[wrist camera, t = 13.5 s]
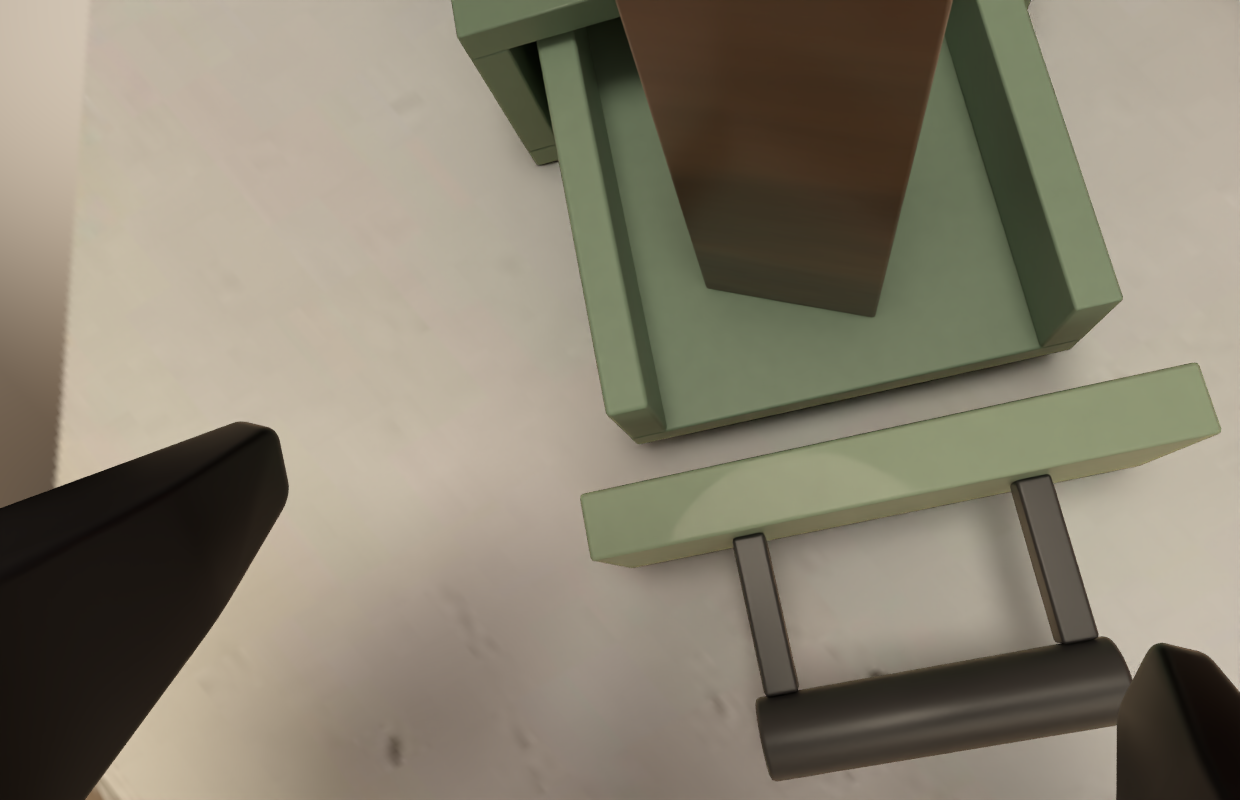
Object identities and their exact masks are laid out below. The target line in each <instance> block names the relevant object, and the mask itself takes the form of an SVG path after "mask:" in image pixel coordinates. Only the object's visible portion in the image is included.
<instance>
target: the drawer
mask: <svg viewBox="0 0 1240 800" xmlns="http://www.w3.org/2000/svg"><path fill="white" fill-rule="evenodd" d="M536 42H537V48H538V53H539V58H540V64H541V69H542V74H543V80H544V85H545V90H546V96H547V101H548V106H549V112H550V117H551V122H552V128H553V133H554V138H555V144H556V149H557V154H558V160H559V165H560V170H561V176H562V181H563V186H564V192H565V197H566V202H567V208H568V213H569V218H570V224H571V229H572V234H573V240H574V245H575V250H576V256H577V261H578V266H579V272H580V277H581V282H582V288H583V293H584V299H585V304H586V309H587V315H588V320H589V325H590V331H591V336H592V341H593V347H594V352H595V357H596V363H597V368H598V373H599V379H600V384H601V389H602V395H603V400H604V405H605V411H606V414H607V415H608V417H610V418H611V419H612V420H613V421H614V422H615V423H616V424H617V425H618V426H619V427H620V428H621V429H622V430H623V431H625V432H626V433H627V434H628V435H629V436H630V437H631V439H632V440H633V441H635V442H636V443H637V444H644V443H648V442H653V441H657V440H662V439H666V438H671V437H676V436H680V435H685V434H689V433H694V432H698V431H703V430H707V429H712V428H716V427H721V426H725V425H730V424H734V423H739V422H743V421H748V420H753V419H757V418H762V417H766V416H771V415H775V414H780V413H784V412H789V411H793V410H798V409H802V408H807V407H811V406H816V405H820V404H825V403H829V402H834V401H839V400H843V399H848V398H852V397H857V396H861V395H866V394H870V393H875V392H879V391H884V390H888V389H893V388H897V387H902V386H906V385H911V384H916V383H920V382H925V381H929V380H934V379H938V378H943V377H947V376H952V375H956V374H961V373H965V372H970V371H974V370H979V369H983V368H988V367H993V366H997V365H1002V364H1006V363H1011V362H1015V361H1020V360H1024V359H1029V358H1033V357H1038V356H1042V355H1047V354H1051V353H1056V352H1060V351H1065V350H1069V349H1071V348H1072V347H1073V346H1074V345H1075V344H1076V343H1077V342H1078V341H1079V340H1080V339H1081V338H1083V337H1084V336H1085V335H1086V334H1087V333H1088V332H1089V331H1090V330H1091V329H1092V328H1093V327H1094V326H1095V325H1096V324H1097V323H1098V322H1100V321H1101V320H1102V319H1103V318H1104V317H1105V316H1106V315H1107V314H1108V313H1109V312H1110V311H1111V310H1112V309H1113V308H1114V307H1115V306H1116V305H1117V304H1119V303H1120V302H1121V301H1122V300H1123V296H1122V293H1121V290H1120V287H1119V284H1118V281H1117V278H1116V275H1115V272H1114V269H1113V266H1112V263H1111V260H1110V257H1109V254H1108V251H1107V248H1106V245H1105V242H1104V239H1103V236H1102V233H1101V230H1100V227H1099V224H1098V221H1097V218H1096V215H1095V212H1094V209H1093V206H1092V203H1091V200H1090V197H1089V194H1088V191H1087V188H1086V185H1085V182H1084V179H1083V176H1082V173H1081V170H1080V167H1079V164H1078V161H1077V158H1076V155H1075V152H1074V149H1073V146H1072V143H1071V140H1070V137H1069V134H1068V131H1067V128H1066V125H1065V122H1064V119H1063V116H1062V113H1061V110H1060V107H1059V104H1058V101H1057V98H1056V95H1055V92H1054V89H1053V86H1052V83H1051V80H1050V77H1049V74H1048V71H1047V68H1046V65H1045V62H1044V59H1043V56H1042V53H1041V50H1040V47H1039V44H1038V41H1037V38H1036V35H1035V32H1034V29H1033V26H1032V23H1031V20H1030V17H1029V14H1028V11H1027V8H1026V5H1025V2H1024V0H953V2H952V6H951V10H950V14H949V18H948V22H947V26H946V30H945V35H944V39H943V43H942V47H941V51H940V55H939V59H938V63H937V67H936V71H935V75H934V79H933V83H932V87H931V91H930V96H929V100H928V104H927V108H926V112H925V116H924V120H923V124H922V128H921V132H920V136H919V140H918V144H917V148H916V152H915V156H914V161H913V165H912V169H911V173H910V177H909V181H908V185H907V189H906V193H905V197H904V201H903V205H902V209H901V213H900V217H899V222H898V226H897V230H896V234H895V238H894V242H893V246H892V250H891V254H890V258H889V262H888V266H887V270H886V274H885V278H884V282H883V287H882V291H881V295H880V299H879V303H878V307H877V311H876V315H875V316H874V317H867V316H862V315H856V314H850V313H845V312H839V311H833V310H828V309H822V308H816V307H811V306H805V305H799V304H794V303H788V302H782V301H777V300H771V299H766V298H760V297H754V296H749V295H743V294H737V293H732V292H726V291H720V290H715V289H709V288H707V287H706V285H705V282H704V279H703V276H702V273H701V270H700V266H699V263H698V260H697V257H696V254H695V251H694V247H693V244H692V241H691V238H690V235H689V232H688V229H687V225H686V222H685V219H684V216H683V213H682V210H681V206H680V203H679V200H678V197H677V194H676V191H675V188H674V184H673V181H672V178H671V175H670V172H669V169H668V165H667V162H666V159H665V156H664V153H663V150H662V146H661V143H660V140H659V137H658V134H657V131H656V128H655V124H654V121H653V118H652V115H651V112H650V109H649V105H648V102H647V99H646V96H645V93H644V90H643V87H642V83H641V80H640V77H639V74H638V71H637V68H636V64H635V61H634V58H633V55H632V52H631V49H630V45H629V42H628V39H627V36H626V33H625V30H624V27H623V23H622V20H621V17H618V18H614V19H611V20H607V21H604V22H600V23H597V24H593V25H590V26H586V27H583V28H579V29H576V30H573V31H569V32H566V33H562V34H559V35H555V36H552V37H548V38H545V39H541V40H538V41H536ZM1220 432H1221V427H1220V424H1219V421H1218V418H1217V415H1216V413H1215V410H1214V407H1213V404H1212V401H1211V398H1210V395H1209V392H1208V390H1207V387H1206V384H1205V381H1204V378H1203V375H1202V372H1201V369H1200V367H1199V365H1198V363H1189V364H1184V365H1180V366H1175V367H1171V368H1166V369H1161V370H1157V371H1152V372H1147V373H1143V374H1138V375H1133V376H1129V377H1124V378H1119V379H1115V380H1110V381H1105V382H1101V383H1096V384H1091V385H1087V386H1082V387H1078V388H1073V389H1068V390H1064V391H1059V392H1054V393H1050V394H1045V395H1040V396H1036V397H1031V398H1026V399H1022V400H1017V401H1012V402H1008V403H1003V404H998V405H994V406H989V407H985V408H980V409H975V410H971V411H966V412H961V413H957V414H952V415H947V416H943V417H938V418H933V419H929V420H924V421H919V422H915V423H910V424H905V425H901V426H896V427H892V428H887V429H882V430H878V431H873V432H868V433H864V434H859V435H854V436H850V437H845V438H840V439H836V440H831V441H826V442H822V443H817V444H812V445H808V446H803V447H798V448H794V449H789V450H785V451H780V452H775V453H771V454H766V455H761V456H757V457H752V458H747V459H743V460H738V461H733V462H729V463H724V464H719V465H715V466H710V467H705V468H701V469H696V470H692V471H687V472H682V473H678V474H673V475H668V476H664V477H659V478H654V479H650V480H645V481H640V482H636V483H631V484H626V485H622V486H617V487H612V488H608V489H603V490H599V491H594V492H589V493H585V494H582V495H581V498H580V500H581V506H582V512H583V517H584V523H585V529H586V534H587V540H588V546H589V551H590V557H591V559H592V561H597V562H603V563H608V564H613V565H619V566H624V567H629V568H635V567H640V566H645V565H650V564H655V563H660V562H665V561H670V560H675V559H680V558H685V557H690V556H695V555H700V554H705V553H710V552H715V551H719V550H724V549H729V548H734V553H735V558H736V562H737V567H738V572H739V576H740V581H741V586H742V591H743V595H744V600H745V605H746V609H747V614H748V619H749V623H750V628H751V633H752V637H753V642H754V647H755V651H756V656H757V661H758V666H759V670H760V675H761V680H762V684H763V689H764V693H765V695H766V696H764V697H760V698H758V699H757V700H756V715H757V722H758V728H759V733H760V738H761V743H762V748H763V752H764V757H765V761H766V765H767V768H768V772H769V775H770V777H771V778H772V780H774V781H782V780H788V779H794V778H800V777H807V776H813V775H819V774H825V773H831V772H837V771H843V770H849V769H855V768H861V767H867V766H873V765H879V764H885V763H891V762H897V761H904V760H910V759H916V758H922V757H928V756H934V755H940V754H946V753H952V752H958V751H964V750H970V749H976V748H982V747H988V746H994V745H1001V744H1007V743H1013V742H1019V741H1025V740H1031V739H1037V738H1043V737H1049V736H1055V735H1061V734H1067V733H1073V732H1079V731H1085V730H1091V729H1098V728H1104V727H1110V726H1116V725H1117V720H1118V713H1119V708H1120V705H1121V702H1122V699H1123V697H1124V695H1125V693H1126V692H1127V690H1128V688H1129V686H1130V684H1131V682H1132V677H1131V674H1130V671H1129V669H1128V666H1127V664H1126V662H1125V660H1124V658H1123V656H1122V654H1121V652H1120V651H1119V649H1118V648H1117V646H1116V645H1115V643H1114V642H1113V641H1112V640H1111V639H1109V638H1107V637H1103V636H1101V637H1098V631H1097V628H1096V624H1095V621H1094V618H1093V614H1092V611H1091V608H1090V604H1089V601H1088V598H1087V594H1086V591H1085V588H1084V584H1083V581H1082V577H1081V574H1080V571H1079V567H1078V564H1077V561H1076V557H1075V554H1074V551H1073V547H1072V544H1071V541H1070V537H1069V534H1068V531H1067V527H1066V524H1065V521H1064V517H1063V514H1062V511H1061V507H1060V504H1059V501H1058V497H1057V494H1056V491H1055V487H1054V484H1053V483H1056V482H1061V481H1066V480H1071V479H1076V478H1081V477H1086V476H1091V475H1096V474H1101V473H1106V472H1111V471H1116V470H1121V469H1126V468H1131V467H1136V466H1140V465H1143V464H1145V463H1147V462H1150V461H1152V460H1155V459H1157V458H1160V457H1162V456H1165V455H1167V454H1170V453H1172V452H1175V451H1177V450H1180V449H1182V448H1185V447H1187V446H1190V445H1192V444H1195V443H1197V442H1200V441H1202V440H1205V439H1207V438H1210V437H1212V436H1214V435H1217V434H1219V433H1220ZM1007 492H1012V496H1013V499H1014V503H1015V506H1016V510H1017V513H1018V517H1019V520H1020V524H1021V527H1022V531H1023V534H1024V538H1025V541H1026V544H1027V548H1028V551H1029V555H1030V558H1031V562H1032V565H1033V569H1034V572H1035V576H1036V579H1037V583H1038V586H1039V590H1040V593H1041V597H1042V600H1043V604H1044V607H1045V610H1046V614H1047V617H1048V621H1049V624H1050V628H1051V631H1052V635H1053V638H1054V640H1055V642H1057V643H1061V644H1056V645H1050V646H1045V647H1039V648H1033V649H1028V650H1022V651H1017V652H1011V653H1005V654H1000V655H994V656H988V657H983V658H977V659H972V660H966V661H960V662H955V663H949V664H944V665H938V666H932V667H927V668H921V669H916V670H910V671H904V672H899V673H893V674H887V675H882V676H876V677H871V678H865V679H859V680H854V681H848V682H843V683H837V684H831V685H826V686H820V687H815V688H809V689H803V690H798V687H799V684H798V679H797V675H796V670H795V666H794V661H793V657H792V652H791V648H790V643H789V639H788V634H787V630H786V625H785V621H784V616H783V612H782V607H781V603H780V598H779V594H778V589H777V585H776V580H775V576H774V571H773V567H772V562H771V558H770V553H769V549H768V544H767V541H769V540H774V539H779V538H784V537H789V536H794V535H799V534H804V533H809V532H814V531H819V530H824V529H828V528H833V527H838V526H843V525H848V524H853V523H858V522H863V521H868V520H873V519H878V518H883V517H888V516H893V515H898V514H903V513H908V512H913V511H918V510H923V509H928V508H933V507H937V506H942V505H947V504H952V503H957V502H962V501H967V500H972V499H977V498H982V497H987V496H992V495H997V494H1002V493H1007Z"/></svg>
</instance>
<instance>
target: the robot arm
mask: <svg viewBox="0 0 1240 800" xmlns="http://www.w3.org/2000/svg"><path fill="white" fill-rule="evenodd" d="M288 490H289V485H288V479H287V474H286V469H285V464H284V459H283V454H282V450H281V445H280V440H279V437H278V435H277V434H276V432H275V431H274V430H272V429H271V428H269V427H265V426H261V425H257V424H253V423H249V422H235V423H232V424H229V425H226V426H224V427H221V428H218V429H215V430H213V431H210V432H207V433H204V434H202V435H199V436H196V437H194V438H191V439H188V440H185V441H183V442H180V443H177V444H174V445H172V446H169V447H166V448H164V449H161V450H158V451H155V452H153V453H150V454H147V455H144V456H142V457H139V458H136V459H134V460H131V461H128V462H125V463H123V464H120V465H117V466H114V467H112V468H109V469H106V470H104V471H101V472H98V473H95V474H93V475H90V476H87V477H84V478H82V479H79V480H76V481H73V482H71V483H68V484H65V485H63V486H60V487H57V488H54V489H52V490H49V491H47V492H44V493H41V494H38V495H35V496H33V497H30V498H27V499H24V500H22V501H19V502H16V503H14V504H11V505H8V506H5V507H3V508H0V800H85V799H86V798H87V796H88V795H89V794H90V792H91V791H92V790H93V788H94V787H95V785H96V784H97V783H98V781H99V780H100V779H101V777H102V776H103V775H104V773H105V772H106V771H107V769H108V768H109V766H110V765H111V764H112V762H113V761H114V760H115V758H116V757H117V756H118V754H119V753H120V752H121V750H122V749H123V747H124V746H125V745H126V743H127V742H128V741H129V739H130V738H131V737H132V735H133V734H134V732H135V731H136V730H137V728H138V727H139V726H140V724H141V723H142V722H143V720H144V719H145V718H146V716H147V715H148V713H149V712H150V711H151V709H152V708H153V707H154V705H155V704H156V703H157V701H158V700H159V699H160V697H161V696H162V694H163V693H164V692H165V690H166V689H167V688H168V686H169V685H170V684H171V682H172V681H173V679H174V678H175V677H176V675H177V674H178V673H179V671H180V670H181V669H182V667H183V666H184V665H185V663H186V662H187V660H188V659H189V658H190V656H191V655H192V654H193V652H194V651H195V650H196V648H197V647H198V646H199V644H200V643H201V641H202V640H203V639H204V637H205V636H206V635H207V633H208V632H209V630H210V629H211V627H212V626H213V625H214V623H215V622H216V620H217V619H218V617H219V616H220V614H221V613H222V611H223V609H224V608H225V606H226V605H227V603H228V602H229V600H230V598H231V597H232V595H233V593H234V592H235V590H236V588H237V586H238V585H239V583H240V581H241V580H242V578H243V576H244V575H245V573H246V571H247V569H248V568H249V566H250V564H251V563H252V561H253V559H254V558H255V556H256V554H257V552H258V551H259V549H260V547H261V546H262V544H263V542H264V541H265V539H266V537H267V535H268V534H269V532H270V530H271V529H272V527H273V525H274V524H275V522H276V520H277V518H278V517H279V515H280V513H281V512H282V510H283V508H284V506H285V504H286V501H287V497H288ZM1116 800H1240V692H1239V691H1238V689H1237V688H1236V687H1235V686H1234V685H1233V684H1232V682H1231V681H1230V680H1229V679H1228V678H1227V676H1226V675H1225V674H1224V673H1223V672H1222V670H1221V669H1220V668H1219V667H1218V666H1217V665H1216V663H1215V662H1214V661H1213V660H1212V659H1211V658H1210V657H1209V656H1207V655H1206V654H1204V653H1201V652H1199V651H1195V650H1191V649H1187V648H1183V647H1178V646H1174V645H1170V644H1166V643H1158V644H1155V645H1153V646H1152V647H1151V648H1150V649H1149V650H1148V652H1147V654H1146V655H1145V657H1144V659H1143V661H1142V663H1141V665H1140V667H1139V669H1138V671H1137V673H1136V674H1135V676H1134V678H1133V680H1132V682H1131V684H1130V686H1129V688H1128V690H1127V692H1126V693H1125V695H1124V697H1123V699H1122V702H1121V705H1120V708H1119V713H1118V720H1117V791H1116Z"/></svg>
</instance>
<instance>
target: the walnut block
mask: <svg viewBox="0 0 1240 800" xmlns="http://www.w3.org/2000/svg"><path fill="white" fill-rule="evenodd" d="M615 1H616V4H617V8H618V11H619V14H620V17H621V20H622V23H623V27H624V30H625V33H626V36H627V39H628V42H629V45H630V49H631V52H632V55H633V58H634V61H635V64H636V68H637V71H638V74H639V77H640V80H641V83H642V87H643V90H644V93H645V96H646V99H647V102H648V105H649V109H650V112H651V115H652V118H653V121H654V124H655V128H656V131H657V134H658V137H659V140H660V143H661V146H662V150H663V153H664V156H665V159H666V162H667V165H668V169H669V172H670V175H671V178H672V181H673V184H674V188H675V191H676V194H677V197H678V200H679V203H680V206H681V210H682V213H683V216H684V219H685V222H686V225H687V229H688V232H689V235H690V238H691V241H692V244H693V247H694V251H695V254H696V257H697V260H698V263H699V266H700V270H701V273H702V276H703V279H704V282H705V285H706V287H707V288H709V289H715V290H720V291H726V292H732V293H737V294H743V295H749V296H754V297H760V298H766V299H771V300H777V301H782V302H788V303H794V304H799V305H805V306H811V307H816V308H822V309H828V310H833V311H839V312H845V313H850V314H856V315H862V316H867V317H874V316H875V315H876V311H877V307H878V303H879V299H880V295H881V291H882V287H883V282H884V278H885V274H886V270H887V266H888V262H889V258H890V254H891V250H892V246H893V242H894V238H895V234H896V230H897V226H898V222H899V217H900V213H901V209H902V205H903V201H904V197H905V193H906V189H907V185H908V181H909V177H910V173H911V169H912V165H913V161H914V156H915V152H916V148H917V144H918V140H919V136H920V132H921V128H922V124H923V120H924V116H925V112H926V108H927V104H928V100H929V96H930V91H931V87H932V83H933V79H934V75H935V71H936V67H937V63H938V59H939V55H940V51H941V47H942V43H943V39H944V35H945V30H946V26H947V22H948V18H949V14H950V10H951V6H952V2H953V0H615Z"/></svg>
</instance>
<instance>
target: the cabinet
mask: <svg viewBox="0 0 1240 800" xmlns="http://www.w3.org/2000/svg"><path fill="white" fill-rule="evenodd" d="M1030 1H1031V0H1024V2H1025V5H1026V8H1027V9H1028V6H1029V4H1030ZM451 2H452V8H453V14H454V20H455V26H456V33H457V38H458V39H459V41H460V42H461V44H462V46H463V47H464V49H465V50H466V52H467V54H468V55H469V57H470V58H471V60H472V61H473V63H474V65H475V66H476V68H477V70H478V71H479V73H480V74H481V76H482V78H483V79H484V81H485V83H486V84H487V86H488V87H489V89H490V91H491V92H492V94H493V95H494V97H495V99H496V100H497V102H498V104H499V105H500V107H501V108H502V110H503V112H504V113H505V115H506V117H507V118H508V120H509V121H510V123H511V125H512V126H513V128H514V129H515V131H516V133H517V134H518V136H519V138H520V139H521V141H522V142H523V144H524V146H525V147H526V149H527V150H528V151H529V153H530V155H531V156H532V158H533V160H534V161H535V163H536V164H537V165H542V164H545V163H549V162H553V161H557V160H558V154H557V149H556V144H555V138H554V133H553V128H552V122H551V117H550V112H549V106H548V101H547V96H546V90H545V85H544V80H543V74H542V69H541V64H540V58H539V53H538V48H537V42H536V41H538V40H541V39H545V38H548V37H552V36H555V35H559V34H562V33H566V32H569V31H573V30H576V29H579V28H583V27H586V26H590V25H593V24H597V23H600V22H604V21H607V20H611V19H614V18H618V17H620V14H619V11H618V8H617V4H616V1H615V0H451Z"/></svg>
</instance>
